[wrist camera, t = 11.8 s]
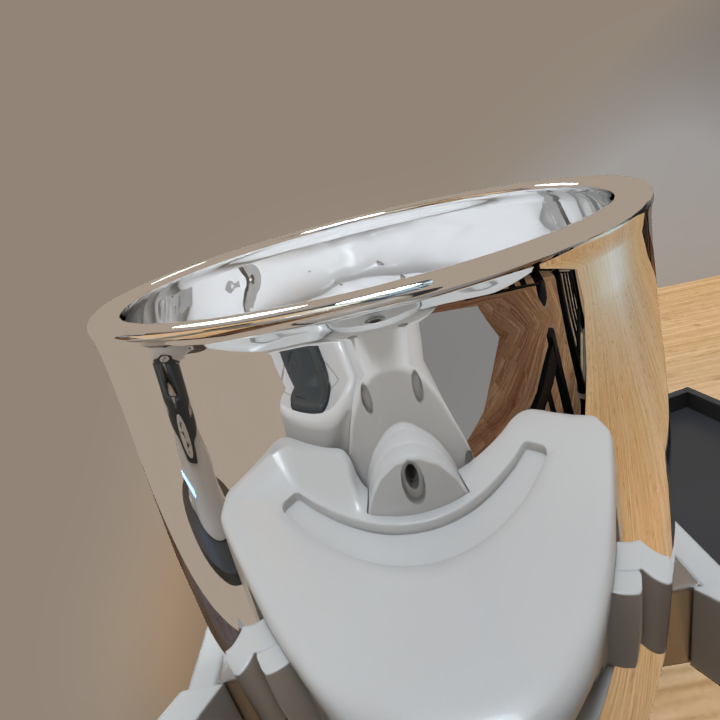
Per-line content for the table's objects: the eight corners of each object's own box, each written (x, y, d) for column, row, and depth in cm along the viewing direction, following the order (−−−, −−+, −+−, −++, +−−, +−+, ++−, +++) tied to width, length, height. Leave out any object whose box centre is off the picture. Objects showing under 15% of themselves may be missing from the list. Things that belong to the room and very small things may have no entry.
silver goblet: (480, 651, 16) (389, 201, 10) (725, 862, 10) (803, 135, 5) (310, 830, 13) (47, 305, 7) (538, 1285, 7) (120, 468, 2)
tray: (592, 658, 23) (590, 632, 23) (462, 487, 37) (459, 467, 37) (922, 515, 26) (930, 488, 25) (687, 406, 40) (687, 386, 39)
